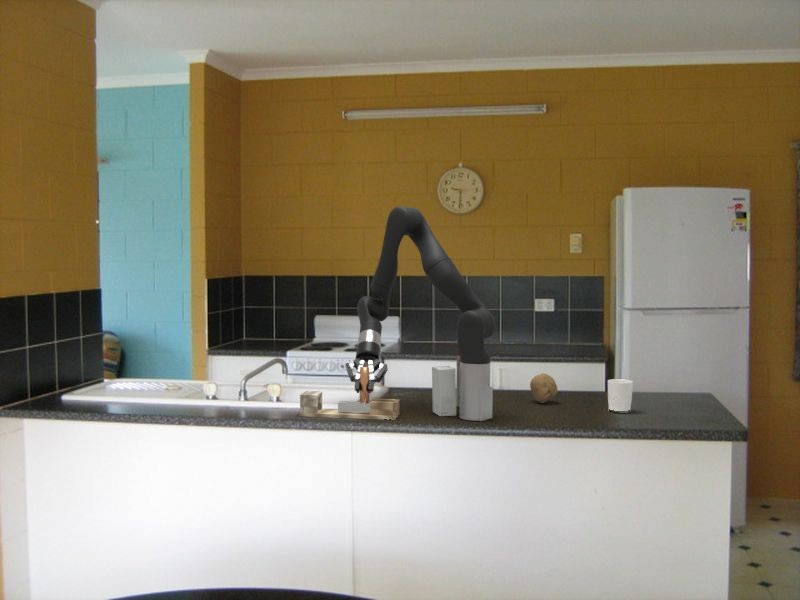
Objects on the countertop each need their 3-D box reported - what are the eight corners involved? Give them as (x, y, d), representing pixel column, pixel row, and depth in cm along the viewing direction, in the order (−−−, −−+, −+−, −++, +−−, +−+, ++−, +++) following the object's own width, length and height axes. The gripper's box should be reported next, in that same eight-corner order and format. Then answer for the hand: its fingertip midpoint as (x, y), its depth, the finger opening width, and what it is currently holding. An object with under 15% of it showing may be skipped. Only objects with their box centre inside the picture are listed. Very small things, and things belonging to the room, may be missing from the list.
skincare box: (456, 416, 252) (457, 368, 251) (438, 416, 250) (438, 369, 250) (449, 410, 260) (449, 364, 259) (430, 411, 259) (431, 365, 258)
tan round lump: (549, 399, 281) (549, 371, 280) (562, 404, 273) (562, 375, 272) (525, 401, 278) (526, 372, 278) (537, 405, 270) (538, 376, 269)
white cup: (615, 408, 267) (615, 378, 266) (636, 412, 261) (637, 381, 260) (602, 411, 261) (602, 380, 261) (624, 415, 256) (624, 383, 255)
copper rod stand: (390, 412, 251) (391, 367, 250) (389, 414, 248) (389, 368, 247) (340, 410, 253) (340, 365, 252) (337, 412, 250) (338, 367, 249)
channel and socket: (399, 414, 253) (399, 393, 253) (396, 419, 245) (396, 398, 245) (305, 411, 257) (305, 390, 257) (298, 416, 249) (298, 394, 249)
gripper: (345, 339, 257) (339, 384, 246) (389, 340, 256) (385, 385, 244) (348, 354, 263) (342, 398, 251) (391, 355, 261) (387, 399, 250)
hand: (363, 391), depth 248 cm, fingers closed on copper rod stand, 3 cm apart
